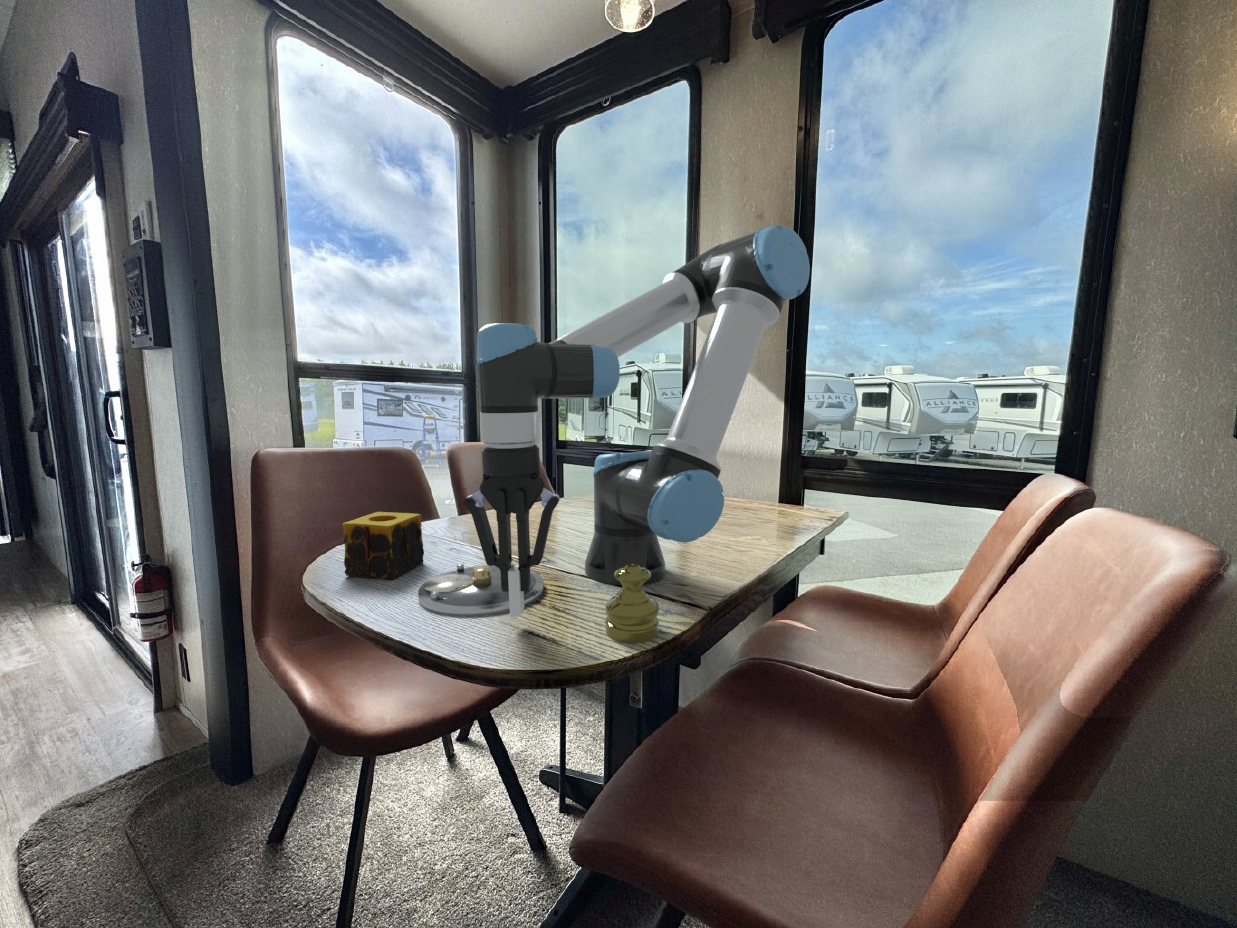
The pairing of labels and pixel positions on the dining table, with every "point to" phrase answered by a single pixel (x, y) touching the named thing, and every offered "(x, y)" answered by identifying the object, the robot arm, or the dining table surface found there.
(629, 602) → the gold pawn
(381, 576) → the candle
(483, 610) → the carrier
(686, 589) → the dining table surface
